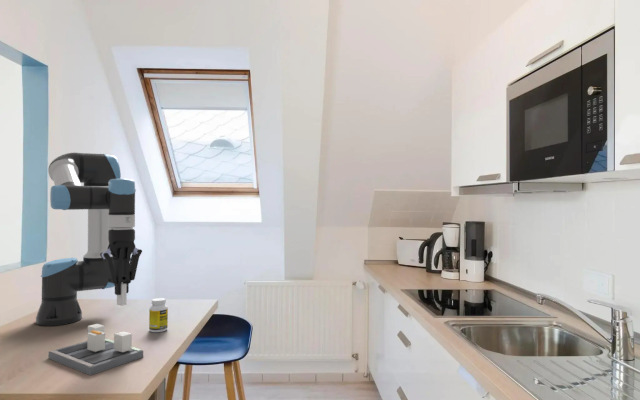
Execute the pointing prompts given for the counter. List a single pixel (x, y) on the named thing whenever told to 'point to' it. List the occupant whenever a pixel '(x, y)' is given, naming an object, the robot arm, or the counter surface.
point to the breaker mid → (95, 340)
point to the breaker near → (122, 341)
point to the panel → (93, 357)
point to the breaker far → (96, 328)
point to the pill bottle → (158, 315)
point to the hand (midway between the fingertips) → (121, 304)
